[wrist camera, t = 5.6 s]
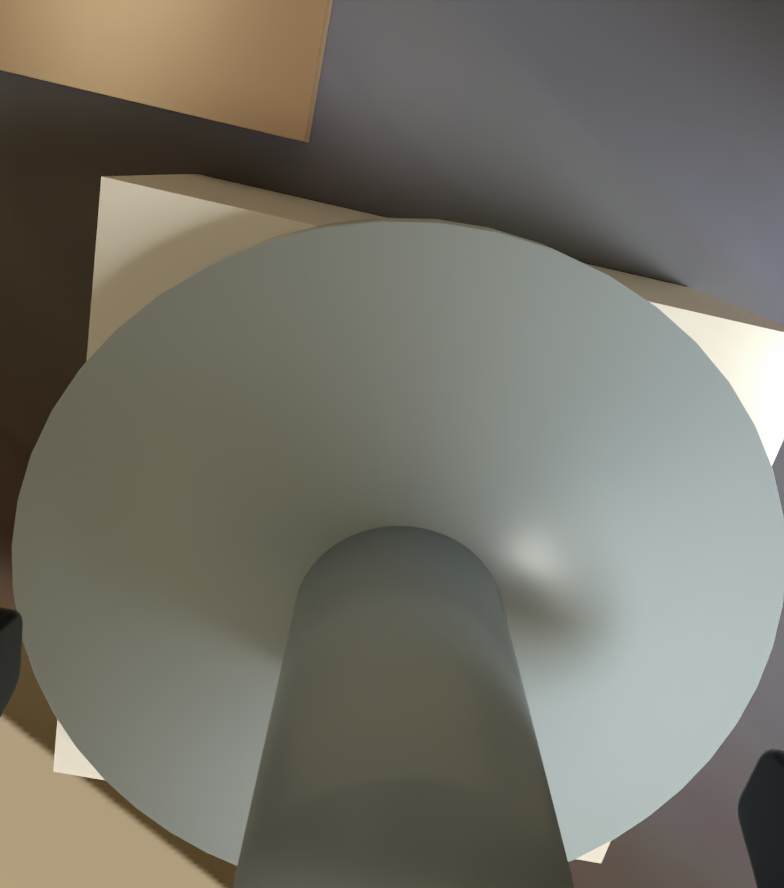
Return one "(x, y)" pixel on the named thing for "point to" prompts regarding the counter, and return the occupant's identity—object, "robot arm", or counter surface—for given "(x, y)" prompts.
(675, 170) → the counter surface
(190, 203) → the dish
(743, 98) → the counter surface
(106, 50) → the mat
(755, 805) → the robot arm
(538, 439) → the lid
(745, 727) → the counter surface
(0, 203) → the counter surface
